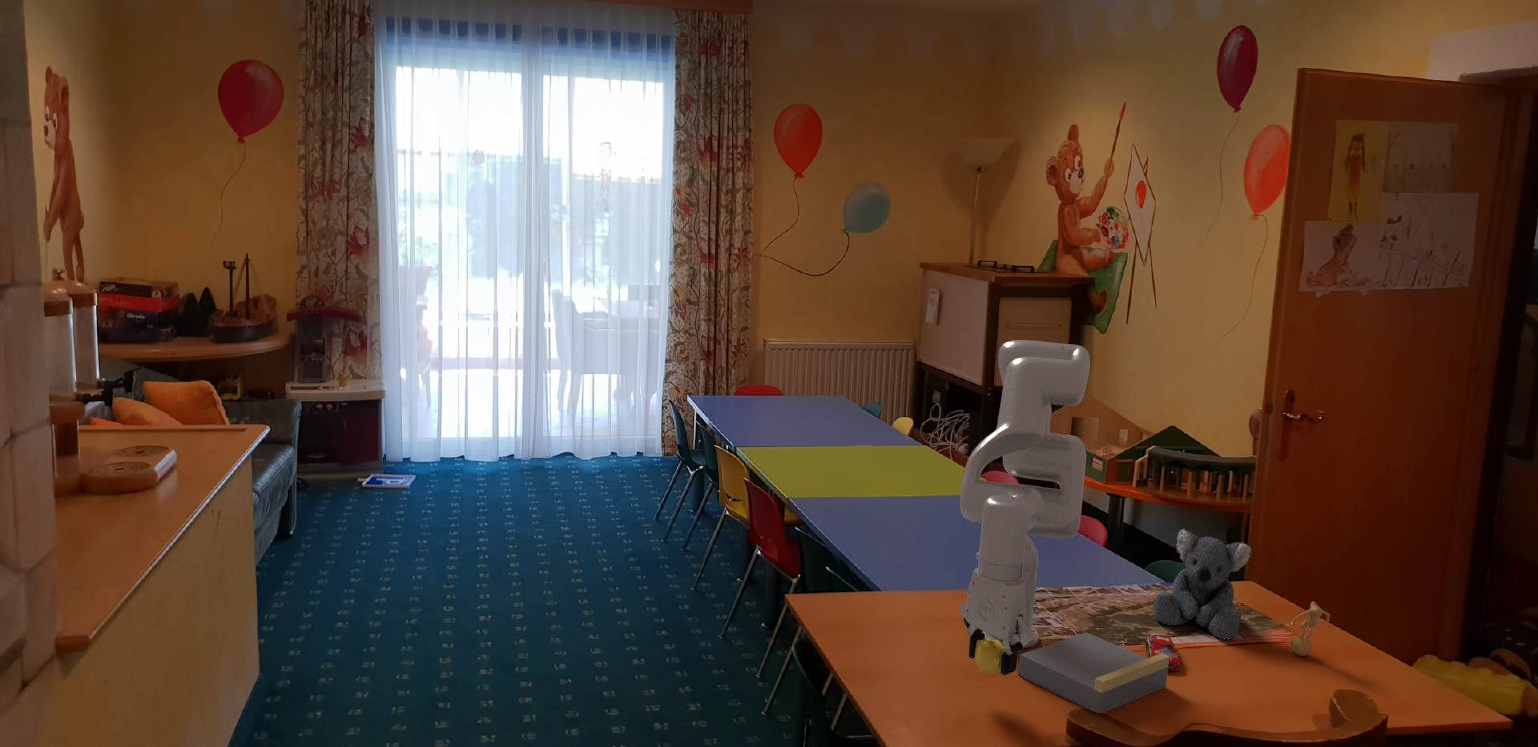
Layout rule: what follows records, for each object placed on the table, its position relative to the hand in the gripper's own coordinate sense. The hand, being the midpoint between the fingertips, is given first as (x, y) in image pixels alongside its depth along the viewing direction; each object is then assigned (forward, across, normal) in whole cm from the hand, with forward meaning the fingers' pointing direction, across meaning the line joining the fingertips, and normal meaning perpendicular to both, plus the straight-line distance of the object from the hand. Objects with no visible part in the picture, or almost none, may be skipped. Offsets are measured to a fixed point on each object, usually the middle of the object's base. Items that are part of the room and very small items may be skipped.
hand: (991, 663), depth 190 cm
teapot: (+1, 0, 0) cm, 1 cm away
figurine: (+9, +21, +70) cm, 74 cm away
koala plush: (+10, -1, +69) cm, 70 cm away
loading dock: (+8, +5, +23) cm, 25 cm away
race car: (+9, +6, +44) cm, 45 cm away
